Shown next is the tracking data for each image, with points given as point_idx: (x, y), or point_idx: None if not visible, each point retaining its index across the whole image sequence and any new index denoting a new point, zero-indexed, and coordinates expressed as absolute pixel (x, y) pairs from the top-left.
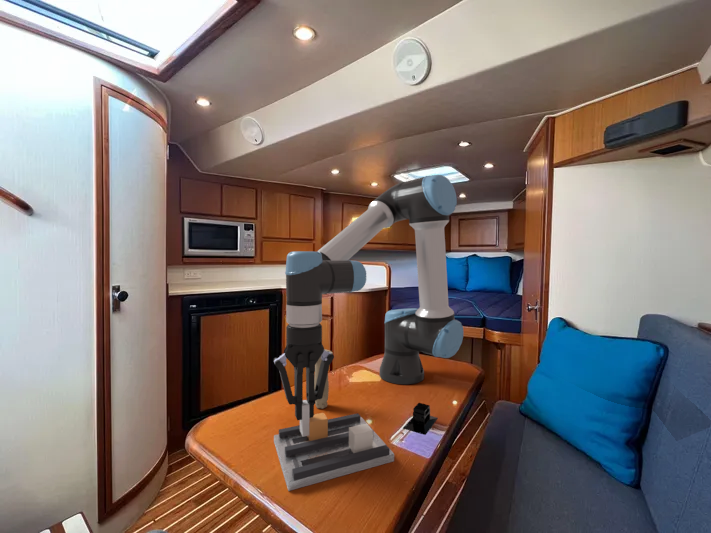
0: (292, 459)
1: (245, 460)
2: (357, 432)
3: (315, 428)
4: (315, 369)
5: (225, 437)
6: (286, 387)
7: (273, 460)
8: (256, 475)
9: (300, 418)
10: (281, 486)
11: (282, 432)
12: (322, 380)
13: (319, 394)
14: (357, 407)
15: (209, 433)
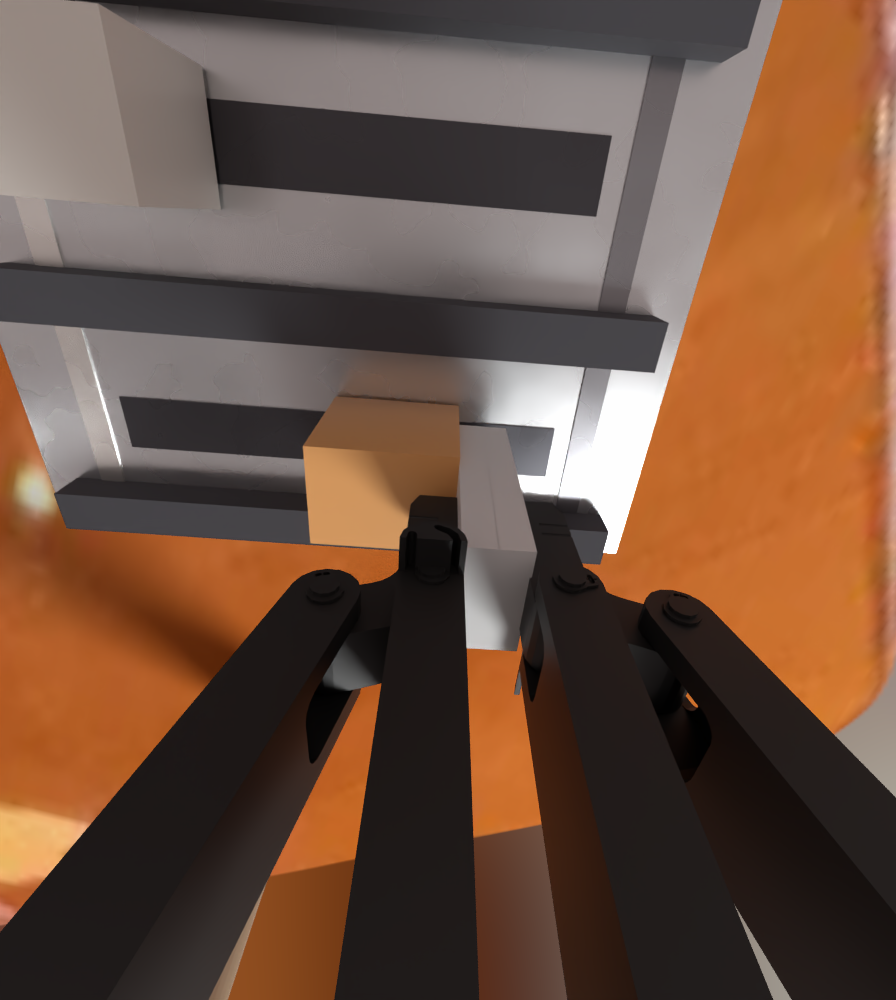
0: (636, 260)
1: (795, 448)
2: (57, 42)
3: (415, 430)
4: (236, 964)
5: (775, 650)
6: (867, 798)
7: (678, 380)
8: (819, 289)
9: (528, 505)
10: (761, 91)
11: (592, 530)
12: (201, 791)
13: (323, 610)
14: (85, 633)
15: (814, 698)
